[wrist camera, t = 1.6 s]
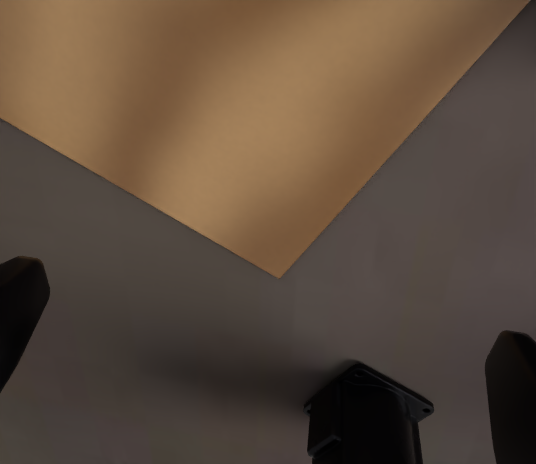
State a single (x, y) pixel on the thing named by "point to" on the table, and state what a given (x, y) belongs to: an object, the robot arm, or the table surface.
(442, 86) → the wooden board
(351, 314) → the table surface
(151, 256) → the table surface
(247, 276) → the table surface
